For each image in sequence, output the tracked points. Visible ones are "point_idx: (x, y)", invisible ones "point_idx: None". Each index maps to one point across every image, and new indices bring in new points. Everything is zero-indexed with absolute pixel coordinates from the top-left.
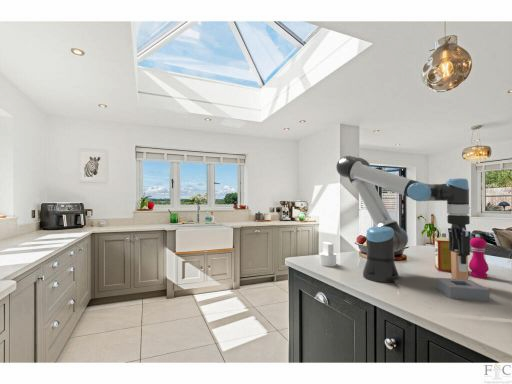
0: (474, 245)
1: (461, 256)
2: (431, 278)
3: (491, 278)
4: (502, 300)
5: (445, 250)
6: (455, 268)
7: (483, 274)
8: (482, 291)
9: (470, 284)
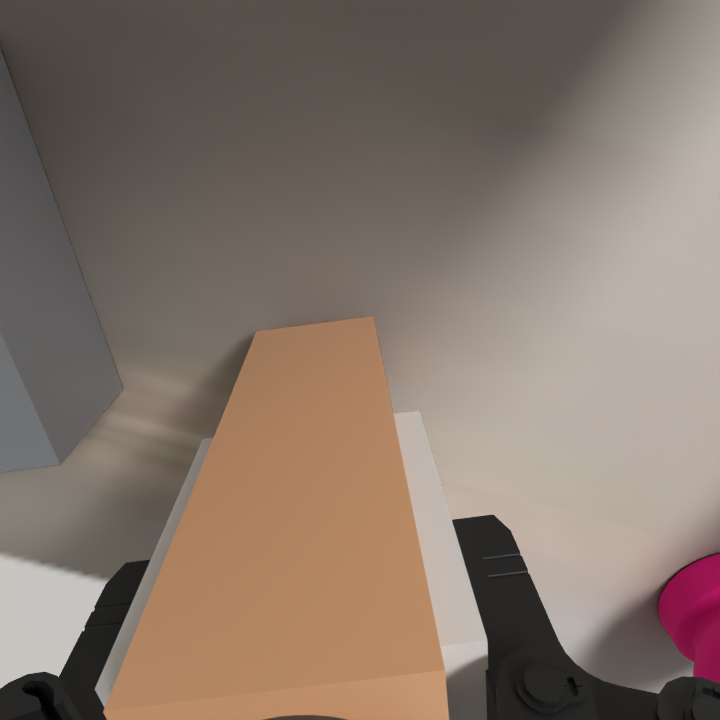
0: None
1: (79, 709)
2: (572, 129)
3: (665, 650)
4: (22, 539)
5: None
6: (247, 424)
7: (680, 639)
8: None
9: None
